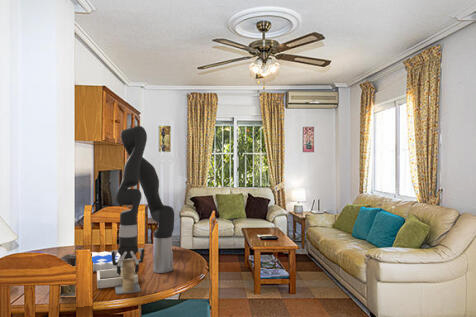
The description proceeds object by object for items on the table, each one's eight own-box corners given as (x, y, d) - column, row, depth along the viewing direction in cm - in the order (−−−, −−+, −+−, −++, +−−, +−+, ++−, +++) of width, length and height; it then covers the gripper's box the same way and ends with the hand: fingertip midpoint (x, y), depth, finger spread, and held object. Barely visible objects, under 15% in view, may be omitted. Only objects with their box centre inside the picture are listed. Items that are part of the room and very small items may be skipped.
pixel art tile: (140, 255, 193) (99, 267, 168) (140, 262, 193) (99, 276, 168) (105, 249, 206) (62, 260, 181) (104, 255, 206) (61, 267, 181)
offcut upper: (122, 274, 164) (122, 268, 164) (136, 274, 164) (136, 268, 164) (119, 276, 160) (119, 271, 160) (134, 276, 161) (135, 271, 161)
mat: (138, 283, 156) (138, 282, 156) (140, 291, 147) (140, 290, 147) (114, 286, 153) (114, 285, 153) (116, 294, 143) (116, 293, 143)
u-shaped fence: (134, 273, 171) (134, 266, 171) (137, 283, 157) (138, 275, 157) (97, 278, 164) (97, 270, 164) (97, 288, 150) (97, 280, 150)
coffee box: (88, 292, 146) (89, 253, 146) (82, 298, 140) (82, 257, 140) (66, 292, 146) (67, 253, 146) (59, 298, 139) (59, 257, 140)
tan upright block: (131, 283, 155) (131, 256, 156) (133, 290, 146) (134, 262, 146) (121, 284, 154) (122, 257, 154) (123, 292, 145) (124, 263, 145)
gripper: (144, 232, 157) (143, 269, 156) (110, 234, 151) (109, 273, 151) (146, 235, 150) (146, 274, 149) (111, 237, 144) (110, 278, 144)
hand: (127, 273), depth 150 cm, fingers open, 6 cm apart
